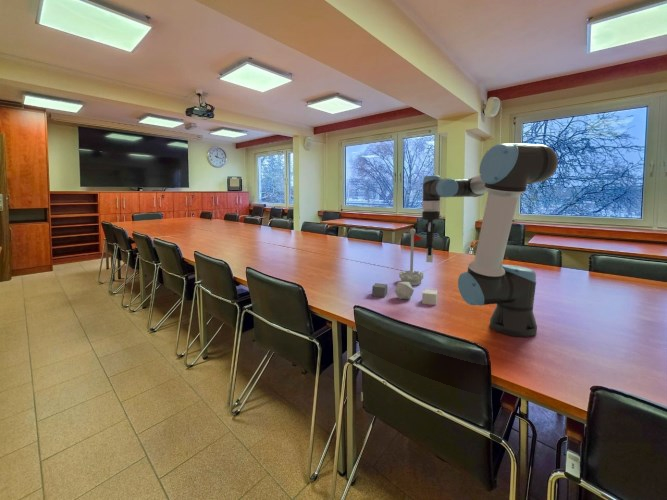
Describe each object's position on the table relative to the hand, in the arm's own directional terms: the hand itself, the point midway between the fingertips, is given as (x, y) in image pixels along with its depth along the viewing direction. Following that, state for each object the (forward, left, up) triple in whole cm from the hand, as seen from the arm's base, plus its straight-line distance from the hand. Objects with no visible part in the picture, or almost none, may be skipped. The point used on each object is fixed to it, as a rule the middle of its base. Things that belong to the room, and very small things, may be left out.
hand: (429, 261), depth 154 cm
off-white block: (-5, -1, -18) cm, 19 cm away
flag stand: (+25, +13, -18) cm, 33 cm away
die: (-4, +11, -18) cm, 21 cm away
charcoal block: (-3, +23, -18) cm, 29 cm away
